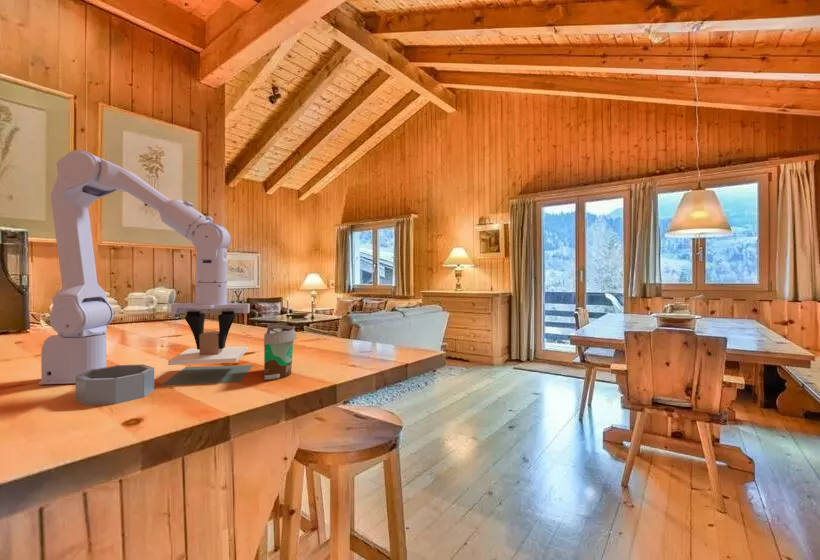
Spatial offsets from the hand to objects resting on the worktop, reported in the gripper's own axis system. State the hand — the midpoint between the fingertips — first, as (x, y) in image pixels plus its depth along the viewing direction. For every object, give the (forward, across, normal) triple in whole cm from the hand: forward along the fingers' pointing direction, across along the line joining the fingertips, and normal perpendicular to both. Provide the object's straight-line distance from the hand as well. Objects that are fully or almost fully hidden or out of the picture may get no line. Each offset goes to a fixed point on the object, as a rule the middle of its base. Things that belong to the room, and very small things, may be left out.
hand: (211, 348), depth 83 cm
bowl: (+6, -12, -12) cm, 18 cm away
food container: (+6, +14, -2) cm, 15 cm away
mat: (+6, 0, 0) cm, 6 cm away
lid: (+2, 0, 0) cm, 2 cm away
